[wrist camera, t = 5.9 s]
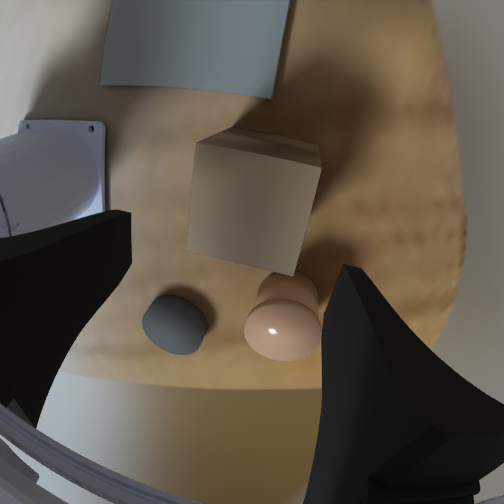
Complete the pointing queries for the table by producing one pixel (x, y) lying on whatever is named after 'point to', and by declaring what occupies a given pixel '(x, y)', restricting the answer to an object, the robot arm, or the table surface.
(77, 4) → the table surface
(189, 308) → the rubber puck
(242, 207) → the walnut block
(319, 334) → the pink dome knob
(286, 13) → the slate tile
